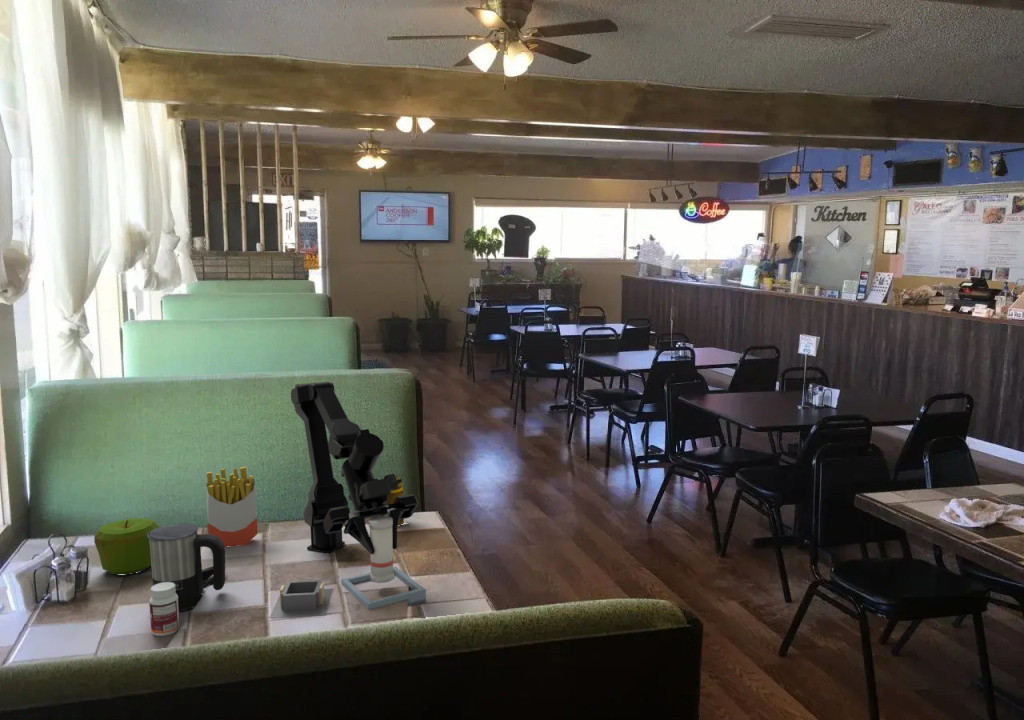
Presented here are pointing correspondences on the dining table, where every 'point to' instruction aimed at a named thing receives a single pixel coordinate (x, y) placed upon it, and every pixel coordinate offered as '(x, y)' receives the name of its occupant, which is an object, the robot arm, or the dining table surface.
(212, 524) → the french fries container
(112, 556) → the apple
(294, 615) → the fuse holder
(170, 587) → the pill bottle
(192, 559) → the milk frother
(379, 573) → the cylinder
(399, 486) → the condiment
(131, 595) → the dining table surface
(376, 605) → the tray
